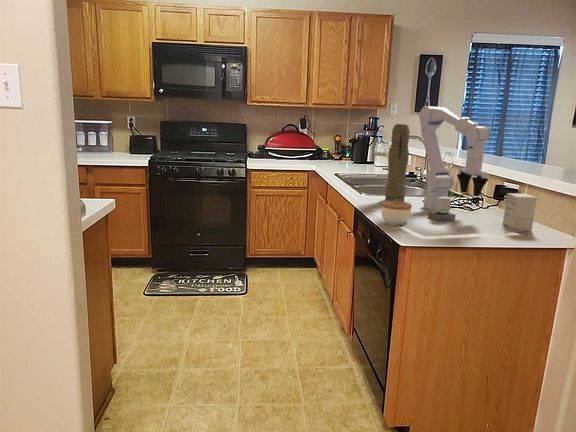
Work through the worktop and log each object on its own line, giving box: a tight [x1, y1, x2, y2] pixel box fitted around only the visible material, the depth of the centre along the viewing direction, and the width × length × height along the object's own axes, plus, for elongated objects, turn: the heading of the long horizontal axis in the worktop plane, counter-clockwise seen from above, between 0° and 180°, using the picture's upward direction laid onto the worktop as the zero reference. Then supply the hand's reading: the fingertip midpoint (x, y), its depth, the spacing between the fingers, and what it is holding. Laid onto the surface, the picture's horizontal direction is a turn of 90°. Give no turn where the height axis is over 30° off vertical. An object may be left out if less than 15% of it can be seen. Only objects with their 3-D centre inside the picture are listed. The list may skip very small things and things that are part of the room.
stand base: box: [427, 210, 456, 223], centre depth 168 cm, size 16×18×4 cm
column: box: [434, 196, 452, 213], centre depth 167 cm, size 4×4×6 cm
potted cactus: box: [384, 123, 410, 202], centre depth 201 cm, size 9×12×35 cm
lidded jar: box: [380, 199, 413, 227], centre depth 161 cm, size 11×11×9 cm
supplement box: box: [502, 192, 538, 232], centre depth 161 cm, size 7×7×13 cm
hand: (469, 194), depth 170 cm, fingers open, 7 cm apart
